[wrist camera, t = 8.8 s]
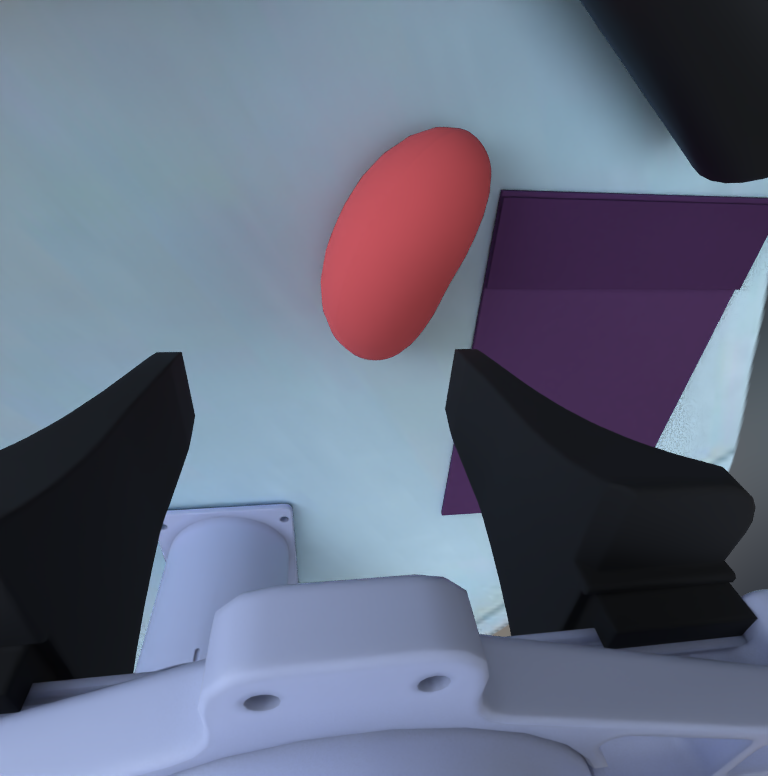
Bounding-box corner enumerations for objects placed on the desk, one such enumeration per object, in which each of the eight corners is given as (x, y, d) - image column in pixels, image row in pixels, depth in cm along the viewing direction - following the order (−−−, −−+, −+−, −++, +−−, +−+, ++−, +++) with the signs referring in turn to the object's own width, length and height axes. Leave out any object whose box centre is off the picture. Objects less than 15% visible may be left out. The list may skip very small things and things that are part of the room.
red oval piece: (272, 246, 21) (288, 370, 19) (394, 63, 15) (444, 210, 12) (366, 276, 24) (391, 385, 22) (498, 135, 18) (555, 263, 16)
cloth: (624, 500, 33) (628, 506, 32) (441, 512, 31) (442, 518, 31) (776, 198, 21) (786, 200, 21) (500, 189, 20) (505, 192, 19)
